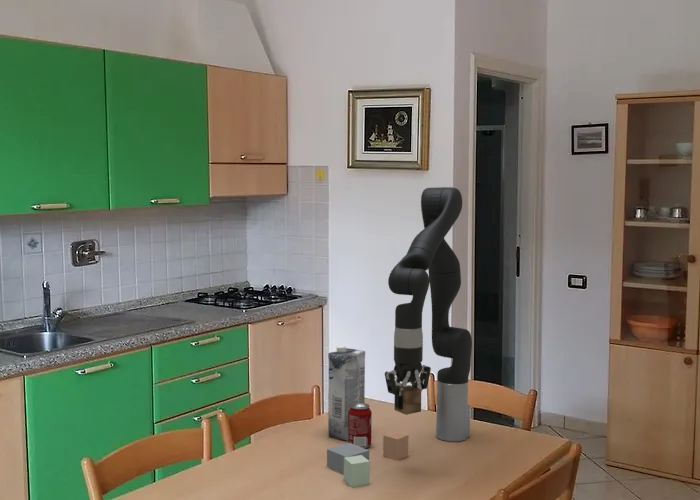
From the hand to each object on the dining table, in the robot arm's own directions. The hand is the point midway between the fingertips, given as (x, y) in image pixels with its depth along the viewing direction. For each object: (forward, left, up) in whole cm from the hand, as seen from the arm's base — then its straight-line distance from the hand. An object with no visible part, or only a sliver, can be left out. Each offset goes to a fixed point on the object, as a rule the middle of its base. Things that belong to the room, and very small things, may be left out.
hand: (407, 407), depth 207 cm
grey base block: (+12, -10, -17) cm, 23 cm away
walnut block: (0, 0, -1) cm, 1 cm away
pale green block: (+16, 0, -17) cm, 23 cm away
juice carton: (-2, -32, -17) cm, 36 cm away
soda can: (0, -22, -17) cm, 28 cm away
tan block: (-4, -10, -17) cm, 20 cm away
